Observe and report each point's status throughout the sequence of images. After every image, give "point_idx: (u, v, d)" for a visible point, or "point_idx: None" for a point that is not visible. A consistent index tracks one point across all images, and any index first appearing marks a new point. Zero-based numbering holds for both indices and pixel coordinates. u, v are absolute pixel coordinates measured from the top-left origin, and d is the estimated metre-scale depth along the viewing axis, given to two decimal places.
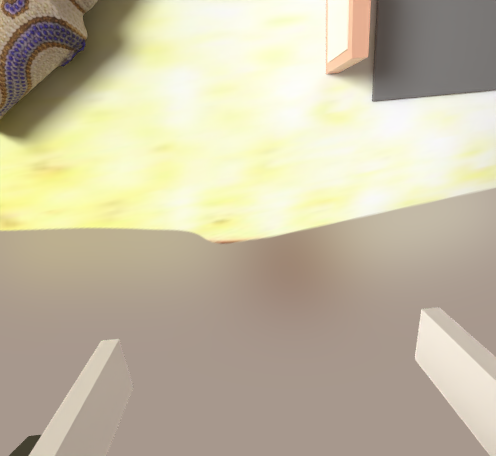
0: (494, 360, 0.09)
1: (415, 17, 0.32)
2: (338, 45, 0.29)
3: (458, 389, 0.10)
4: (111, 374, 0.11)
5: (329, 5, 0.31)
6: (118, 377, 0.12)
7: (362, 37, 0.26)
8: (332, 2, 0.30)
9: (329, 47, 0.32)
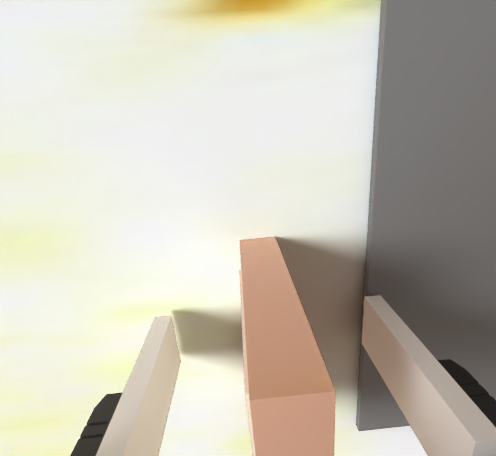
0: (414, 339, 0.10)
1: (453, 301, 0.14)
2: None
3: (388, 366, 0.11)
4: (167, 345, 0.12)
5: None
6: (171, 349, 0.13)
7: None
8: None
9: None
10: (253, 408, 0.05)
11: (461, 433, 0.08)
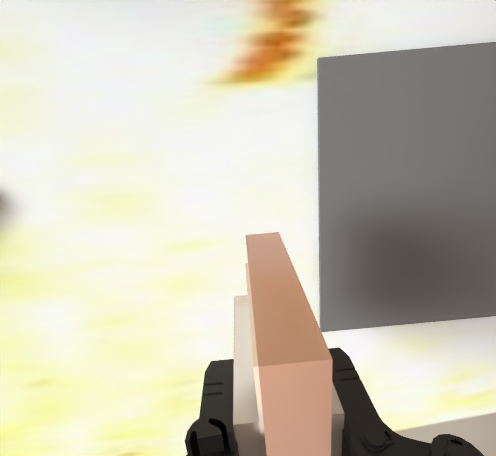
0: None
1: (372, 241, 0.23)
2: None
3: None
4: None
5: None
6: None
7: None
8: None
9: None
10: (261, 374, 0.06)
11: None
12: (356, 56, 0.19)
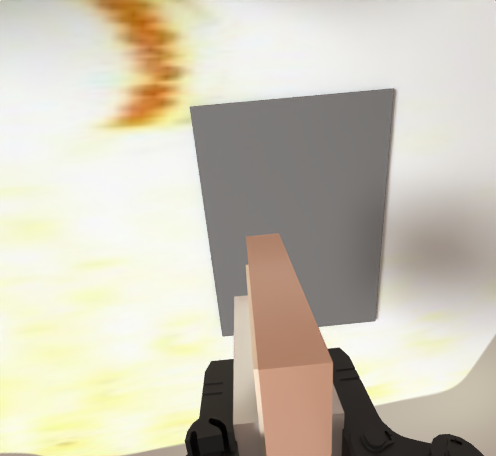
0: None
1: None
2: None
3: None
4: None
5: None
6: None
7: None
8: None
9: None
10: (261, 377, 0.06)
11: None
12: (222, 105, 0.22)
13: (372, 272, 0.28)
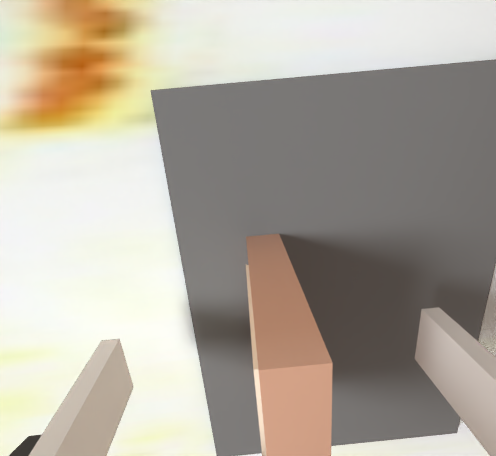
0: (494, 360, 0.09)
1: None
2: None
3: (458, 389, 0.10)
4: (111, 374, 0.11)
5: None
6: (118, 377, 0.12)
7: None
8: None
9: None
10: (261, 377, 0.06)
11: None
12: (213, 87, 0.11)
13: None
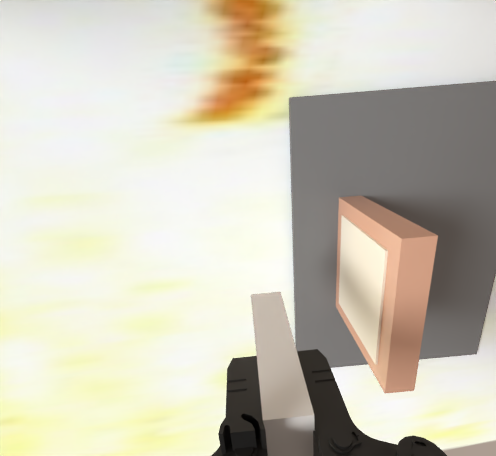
0: (287, 331, 0.11)
1: None
2: (359, 325, 0.18)
3: None
4: None
5: (343, 239, 0.19)
6: None
7: (405, 368, 0.15)
8: (348, 246, 0.18)
9: (342, 292, 0.20)
10: (402, 243, 0.12)
11: None
12: (330, 96, 0.18)
13: (481, 298, 0.23)
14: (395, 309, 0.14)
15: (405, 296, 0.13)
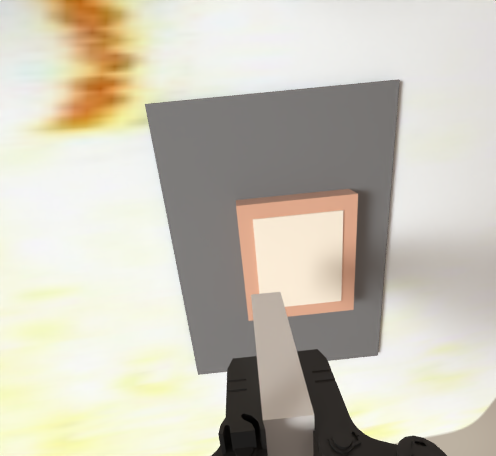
0: (287, 331, 0.11)
1: (236, 287, 0.22)
2: (310, 294, 0.21)
3: None
4: None
5: (261, 241, 0.19)
6: None
7: None
8: (276, 240, 0.19)
9: (269, 292, 0.20)
10: (357, 197, 0.19)
11: None
12: (185, 102, 0.18)
13: (374, 300, 0.23)
14: (355, 244, 0.20)
15: None
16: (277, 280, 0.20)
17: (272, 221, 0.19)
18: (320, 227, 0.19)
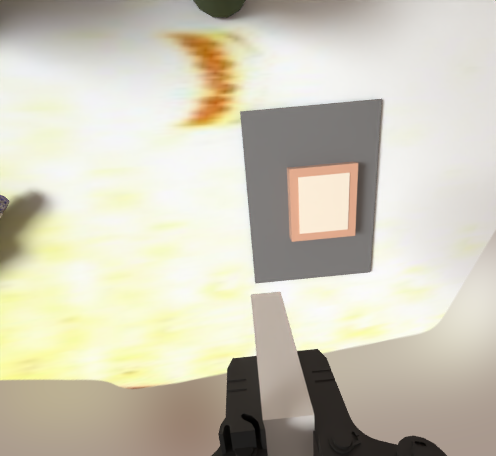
0: (287, 331, 0.11)
1: (283, 223, 0.36)
2: (329, 224, 0.35)
3: None
4: None
5: (302, 190, 0.33)
6: None
7: None
8: (311, 190, 0.33)
9: (305, 222, 0.35)
10: (357, 164, 0.33)
11: None
12: (262, 110, 0.32)
13: (367, 233, 0.37)
14: (356, 194, 0.34)
15: None
16: (310, 215, 0.34)
17: (309, 178, 0.33)
18: (336, 182, 0.33)
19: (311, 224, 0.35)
